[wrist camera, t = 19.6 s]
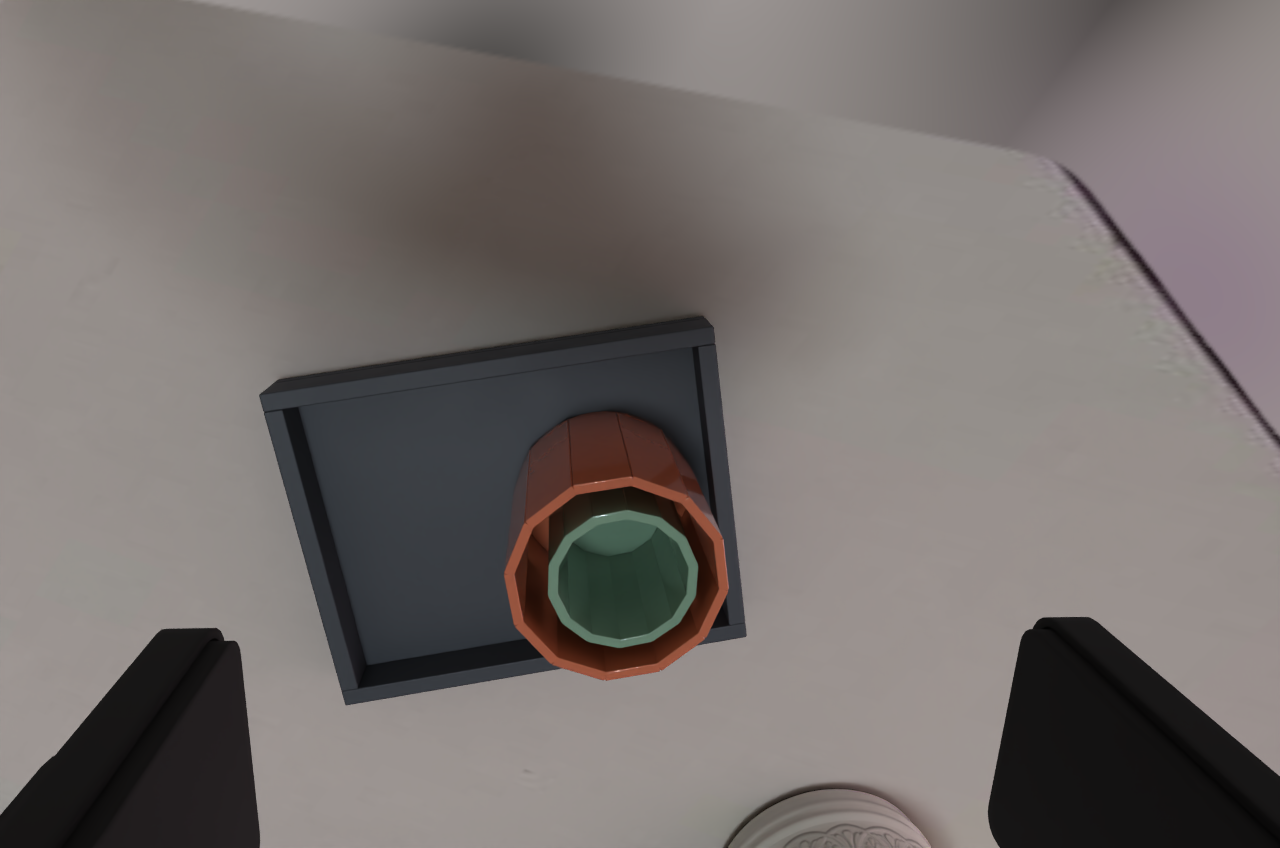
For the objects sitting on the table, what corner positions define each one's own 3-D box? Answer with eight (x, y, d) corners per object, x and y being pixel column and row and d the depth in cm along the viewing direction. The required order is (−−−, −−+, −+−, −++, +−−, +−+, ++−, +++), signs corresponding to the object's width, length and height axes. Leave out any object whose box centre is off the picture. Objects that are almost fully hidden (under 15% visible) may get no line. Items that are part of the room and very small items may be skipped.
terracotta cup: (502, 425, 40) (488, 498, 31) (680, 398, 40) (715, 463, 32) (532, 586, 42) (527, 694, 34) (699, 558, 43) (737, 658, 34)
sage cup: (536, 457, 40) (532, 528, 32) (661, 433, 40) (687, 497, 32) (560, 568, 41) (562, 660, 34) (680, 544, 42) (709, 630, 34)
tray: (276, 379, 39) (258, 394, 36) (703, 315, 40) (713, 326, 37) (357, 674, 43) (345, 705, 41) (736, 610, 44) (747, 637, 42)
